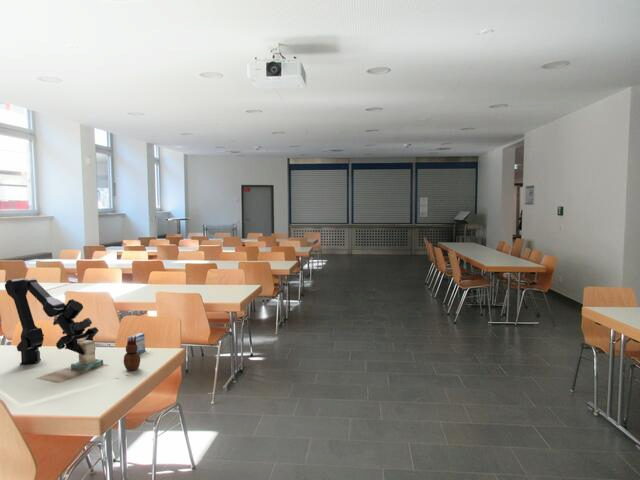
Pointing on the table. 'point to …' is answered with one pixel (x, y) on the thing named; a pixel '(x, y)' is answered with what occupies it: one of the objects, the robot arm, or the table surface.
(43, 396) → the table surface
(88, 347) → the birch block
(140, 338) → the medicine box
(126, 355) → the wooden figurine
